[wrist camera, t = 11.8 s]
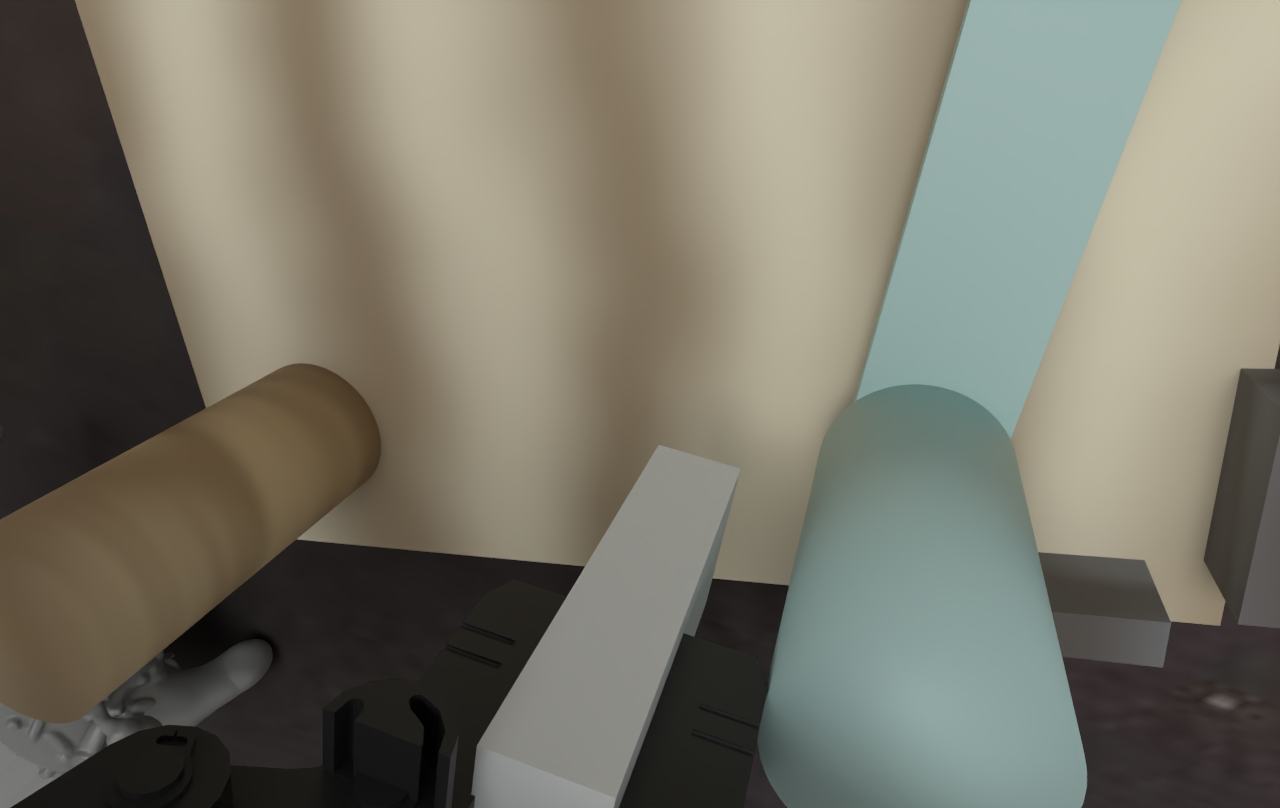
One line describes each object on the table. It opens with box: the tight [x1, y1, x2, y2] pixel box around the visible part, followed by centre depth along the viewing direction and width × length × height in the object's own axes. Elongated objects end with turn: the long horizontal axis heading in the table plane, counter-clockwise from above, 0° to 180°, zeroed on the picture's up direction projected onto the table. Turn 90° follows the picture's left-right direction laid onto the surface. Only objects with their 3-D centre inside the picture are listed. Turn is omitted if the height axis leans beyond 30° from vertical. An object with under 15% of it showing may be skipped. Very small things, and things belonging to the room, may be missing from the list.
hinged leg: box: [757, 0, 1182, 808], centre depth 11 cm, size 13×4×8 cm, turn 172°
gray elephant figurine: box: [0, 424, 273, 779], centre depth 27 cm, size 9×12×8 cm
